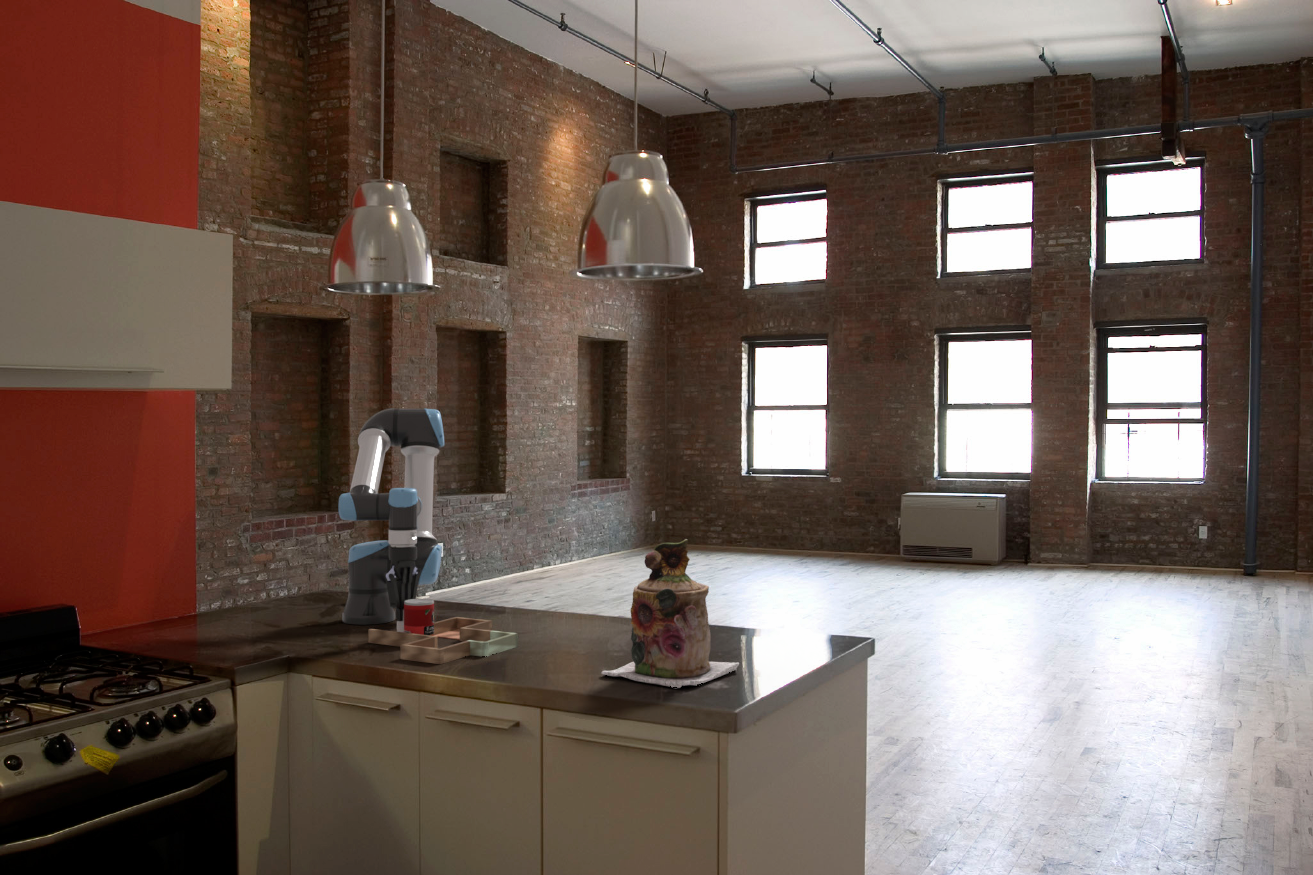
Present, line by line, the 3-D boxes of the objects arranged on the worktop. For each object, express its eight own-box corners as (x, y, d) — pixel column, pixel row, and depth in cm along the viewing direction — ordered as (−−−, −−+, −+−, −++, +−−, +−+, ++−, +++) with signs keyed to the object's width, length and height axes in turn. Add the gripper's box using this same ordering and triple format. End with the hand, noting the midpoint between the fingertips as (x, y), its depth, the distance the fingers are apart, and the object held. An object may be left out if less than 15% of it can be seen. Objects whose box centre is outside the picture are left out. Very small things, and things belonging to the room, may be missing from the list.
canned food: (430, 644, 292) (430, 603, 292) (400, 644, 292) (400, 603, 292) (437, 639, 299) (437, 598, 299) (408, 638, 300) (408, 598, 300)
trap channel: (336, 650, 284) (336, 637, 284) (431, 626, 318) (431, 614, 318) (456, 666, 267) (456, 651, 267) (542, 638, 301) (542, 625, 301)
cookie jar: (657, 659, 276) (657, 531, 276) (742, 672, 263) (743, 537, 262) (597, 677, 256) (597, 539, 256) (686, 692, 242) (687, 547, 242)
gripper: (397, 548, 290) (397, 637, 290) (429, 543, 302) (429, 629, 302) (375, 546, 294) (375, 635, 294) (407, 542, 305) (407, 627, 306)
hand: (402, 632), depth 298 cm, fingers closed
